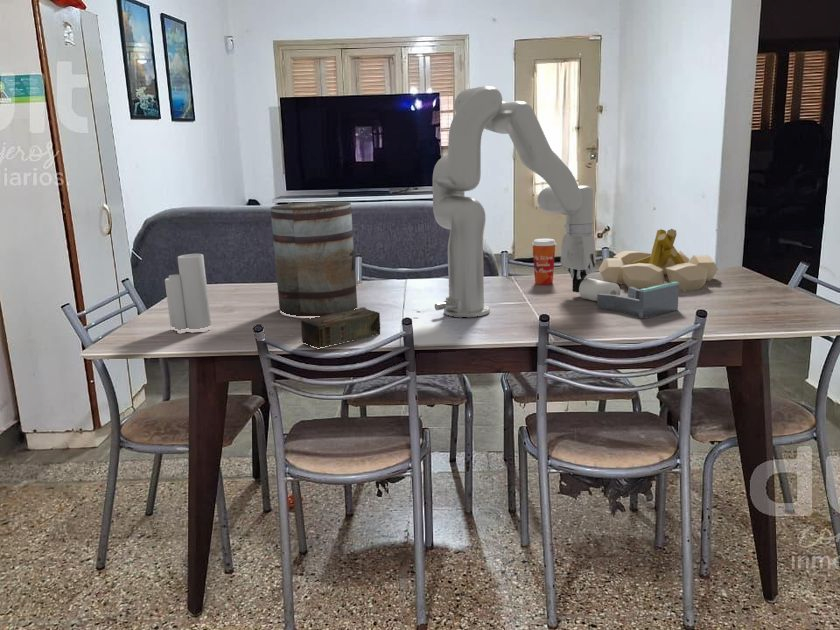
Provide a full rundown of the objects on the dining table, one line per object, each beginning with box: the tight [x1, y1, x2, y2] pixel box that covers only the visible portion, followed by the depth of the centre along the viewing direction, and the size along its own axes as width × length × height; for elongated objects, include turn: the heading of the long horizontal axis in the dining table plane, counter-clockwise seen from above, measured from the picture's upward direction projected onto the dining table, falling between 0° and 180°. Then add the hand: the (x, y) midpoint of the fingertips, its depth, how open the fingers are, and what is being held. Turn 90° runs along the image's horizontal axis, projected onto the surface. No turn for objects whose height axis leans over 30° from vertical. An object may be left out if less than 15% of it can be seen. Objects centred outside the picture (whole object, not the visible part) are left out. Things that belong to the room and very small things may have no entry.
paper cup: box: [531, 238, 558, 286], centre depth 230 cm, size 8×8×14 cm
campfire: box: [598, 228, 719, 292], centre depth 227 cm, size 35×34×17 cm
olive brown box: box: [300, 306, 381, 348], centre depth 177 cm, size 8×19×7 cm, turn 131°
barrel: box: [269, 201, 358, 316], centre depth 206 cm, size 22×22×30 cm
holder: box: [596, 282, 680, 319], centre depth 194 cm, size 14×16×8 cm
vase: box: [164, 253, 212, 330], centre depth 189 cm, size 11×7×20 cm, turn 85°
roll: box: [578, 277, 621, 302], centre depth 205 cm, size 10×6×6 cm, turn 34°
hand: (578, 291), depth 212 cm, fingers closed
